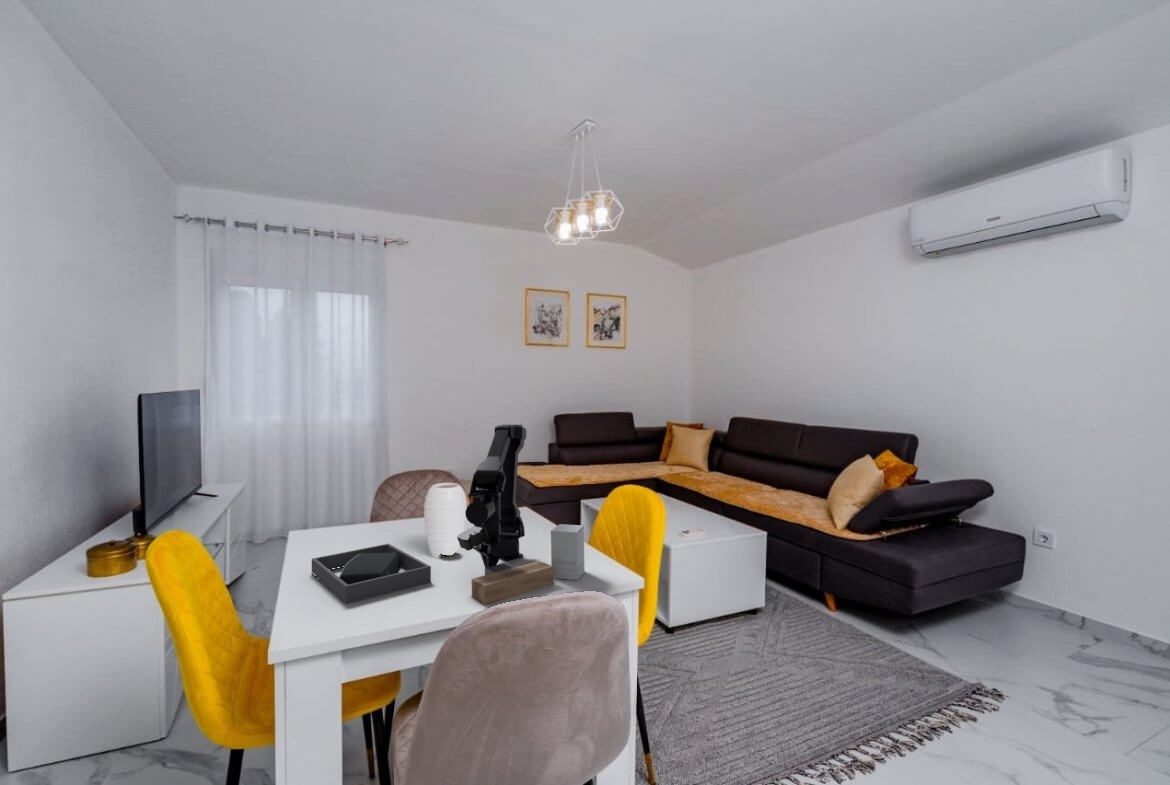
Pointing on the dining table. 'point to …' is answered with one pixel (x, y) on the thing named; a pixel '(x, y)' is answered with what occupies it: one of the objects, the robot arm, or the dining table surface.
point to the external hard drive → (369, 567)
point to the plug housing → (498, 568)
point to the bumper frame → (374, 587)
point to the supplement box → (567, 551)
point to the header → (511, 582)
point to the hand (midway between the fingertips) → (489, 574)
